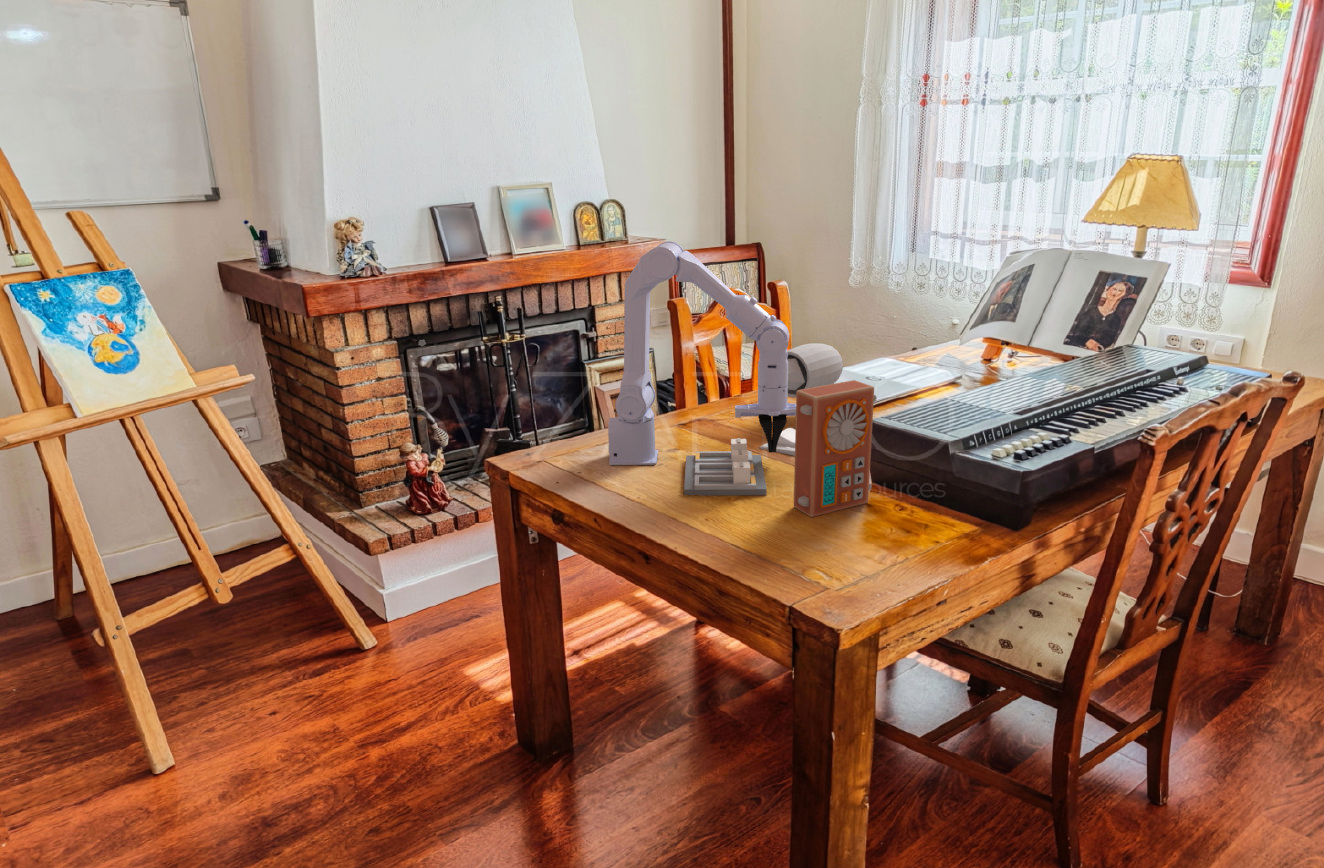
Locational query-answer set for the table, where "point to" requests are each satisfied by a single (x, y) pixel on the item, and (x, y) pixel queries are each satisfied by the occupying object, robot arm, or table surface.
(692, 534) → the table surface
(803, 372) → the jet engine
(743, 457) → the slider mid
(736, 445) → the slider far
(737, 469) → the slider near
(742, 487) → the switch unit
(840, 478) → the control panel
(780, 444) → the light switch
